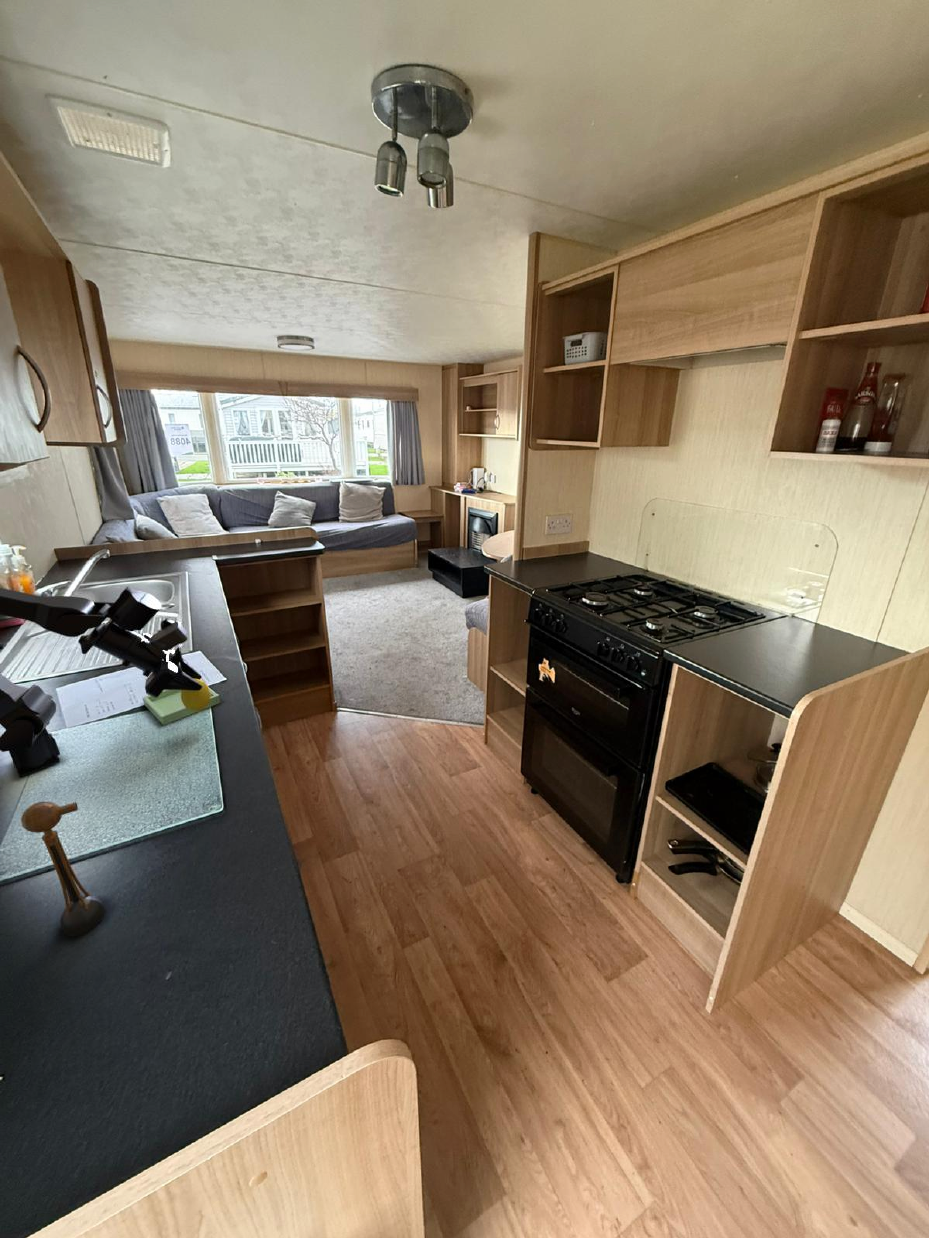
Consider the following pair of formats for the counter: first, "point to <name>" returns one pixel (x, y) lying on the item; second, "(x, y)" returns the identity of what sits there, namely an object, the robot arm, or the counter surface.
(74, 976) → the counter surface
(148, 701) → the tray
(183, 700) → the lemon
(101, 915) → the wooden tabletop sculpture
